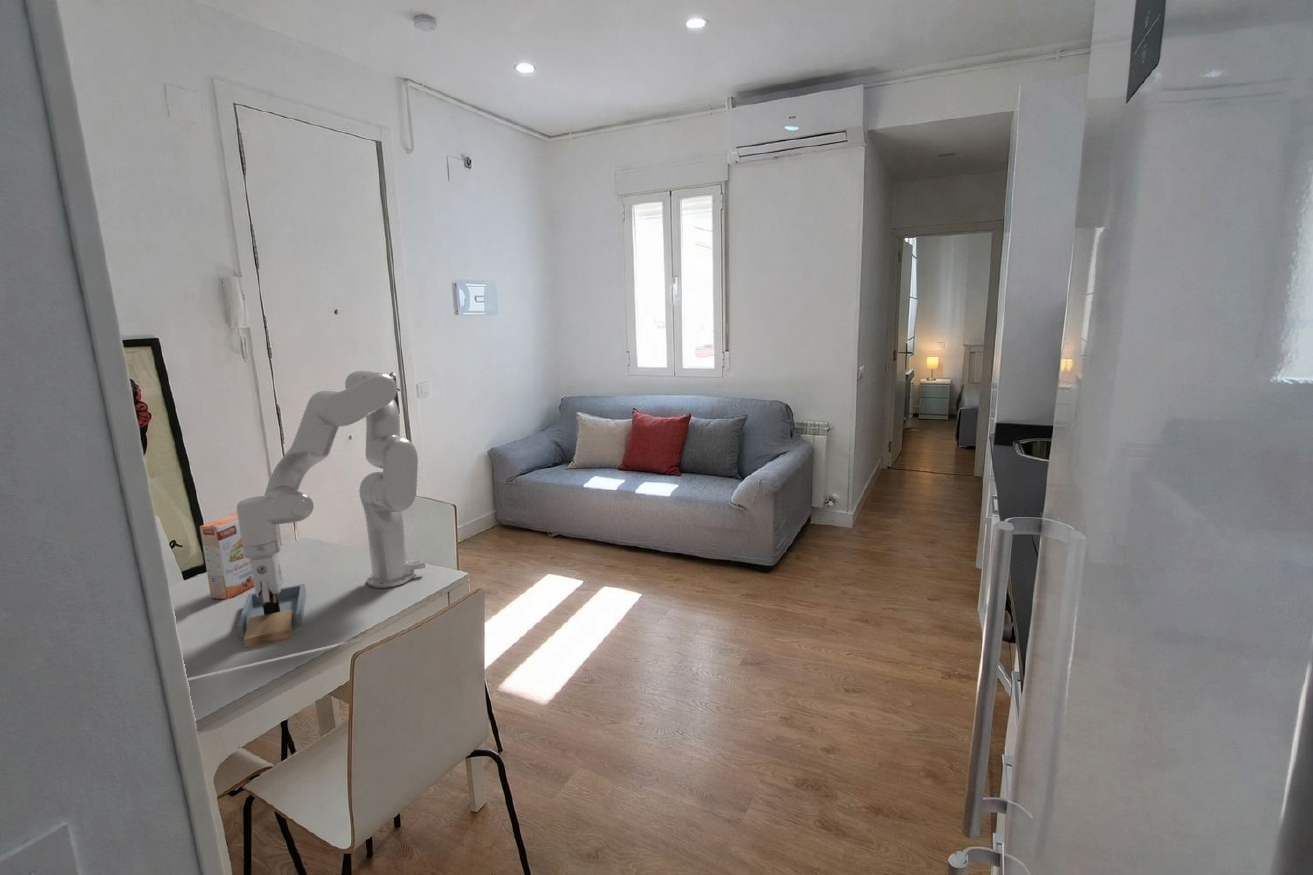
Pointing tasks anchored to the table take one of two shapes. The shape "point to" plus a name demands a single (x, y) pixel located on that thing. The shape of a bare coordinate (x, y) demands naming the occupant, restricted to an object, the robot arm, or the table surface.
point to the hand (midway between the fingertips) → (272, 616)
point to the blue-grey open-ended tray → (287, 599)
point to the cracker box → (225, 558)
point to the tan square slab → (269, 628)
